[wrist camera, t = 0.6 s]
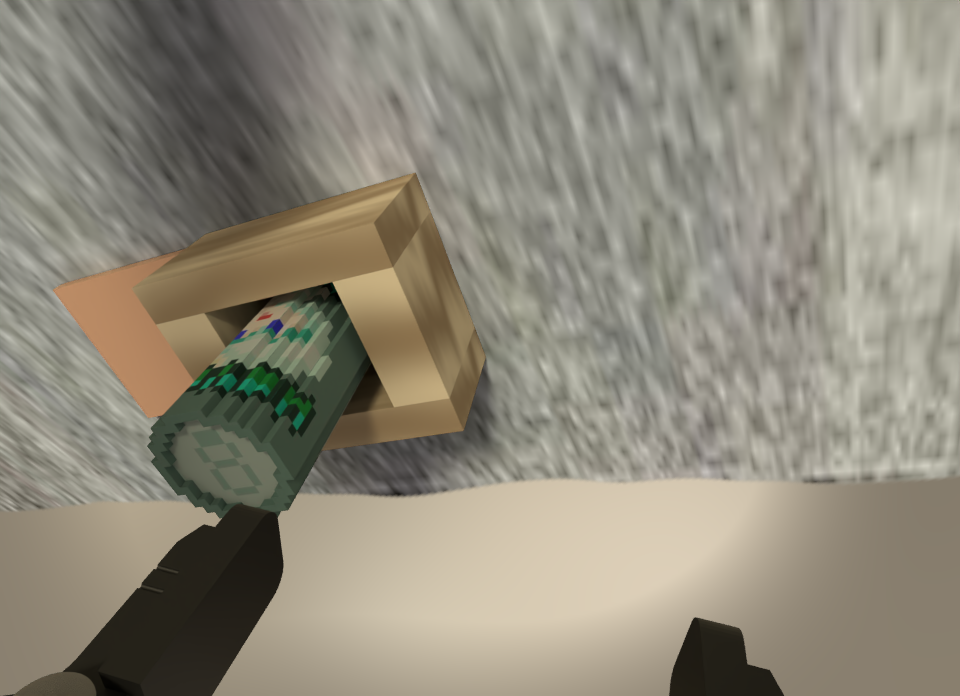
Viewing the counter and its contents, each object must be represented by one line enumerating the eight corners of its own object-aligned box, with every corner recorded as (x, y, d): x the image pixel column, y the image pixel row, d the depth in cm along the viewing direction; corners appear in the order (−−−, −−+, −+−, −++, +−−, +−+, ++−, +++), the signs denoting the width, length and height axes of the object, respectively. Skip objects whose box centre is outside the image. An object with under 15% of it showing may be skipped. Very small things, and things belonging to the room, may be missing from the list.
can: (371, 239, 35) (243, 401, 23) (411, 328, 38) (316, 514, 26) (283, 263, 37) (122, 425, 25) (328, 346, 40) (203, 527, 28)
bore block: (205, 233, 37) (131, 288, 31) (415, 172, 33) (373, 223, 27) (297, 391, 43) (248, 461, 37) (485, 356, 38) (463, 430, 33)
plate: (61, 284, 41) (52, 289, 41) (190, 247, 38) (183, 252, 37) (154, 410, 46) (148, 417, 46) (275, 388, 43) (270, 395, 42)
